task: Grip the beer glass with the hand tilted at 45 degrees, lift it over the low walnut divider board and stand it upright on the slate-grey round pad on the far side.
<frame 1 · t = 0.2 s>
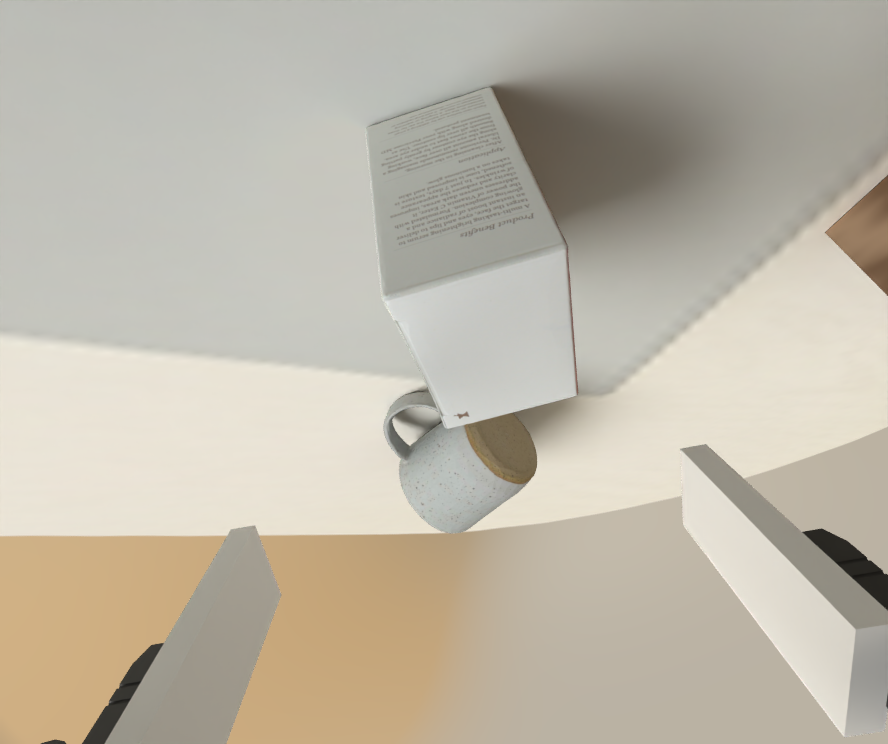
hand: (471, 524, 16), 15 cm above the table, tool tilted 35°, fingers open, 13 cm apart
small box: (448, 184, 24), on the table
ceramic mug: (445, 417, 40), on the table
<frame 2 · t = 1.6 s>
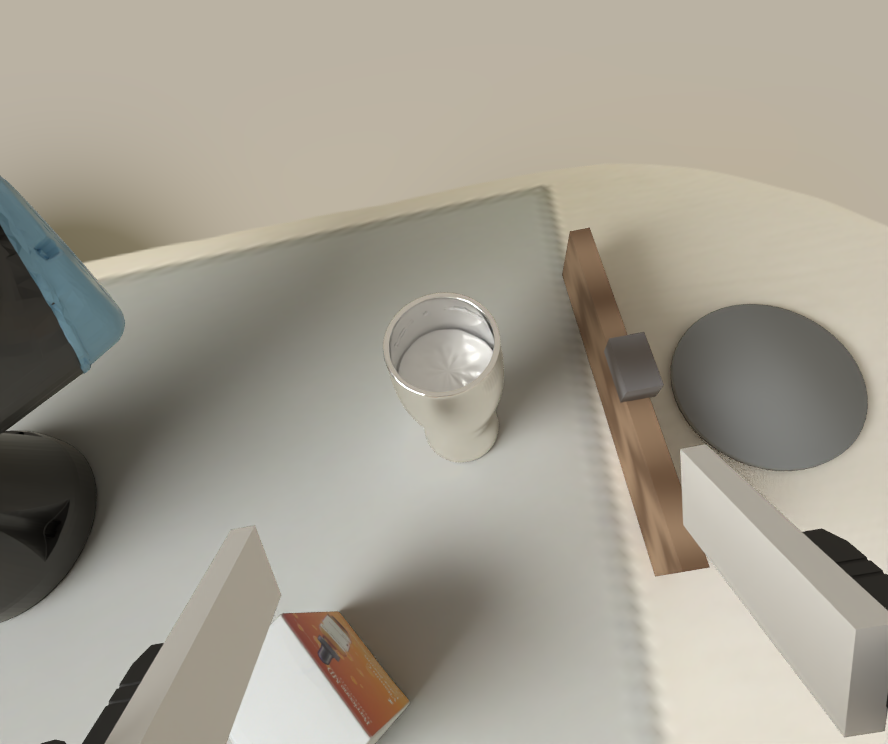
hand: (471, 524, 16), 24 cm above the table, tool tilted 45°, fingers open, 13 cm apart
small box: (344, 684, 35), on the table
round pad: (763, 383, 40), on the table
beer glass: (461, 427, 42), on the table
divider board: (612, 403, 41), on the table
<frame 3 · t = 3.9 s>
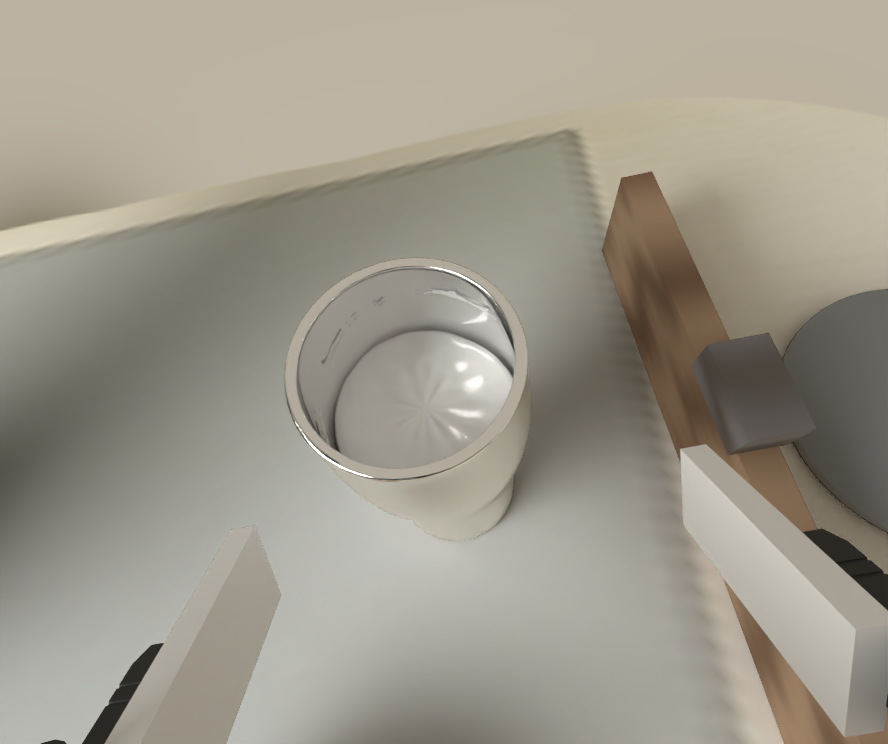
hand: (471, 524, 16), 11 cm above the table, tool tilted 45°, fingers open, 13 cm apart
beer glass: (456, 482, 27), on the table
divider board: (690, 444, 26), on the table
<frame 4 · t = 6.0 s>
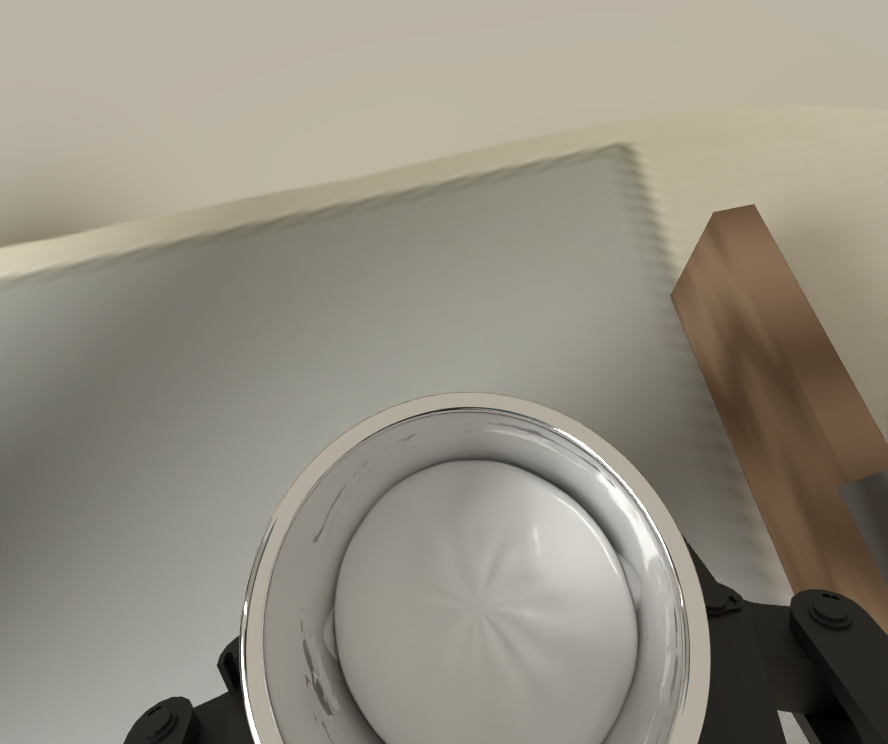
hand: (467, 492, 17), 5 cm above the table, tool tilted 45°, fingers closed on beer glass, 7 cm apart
beer glass: (492, 606, 21), on the table, touching gripper
divider board: (804, 564, 20), on the table
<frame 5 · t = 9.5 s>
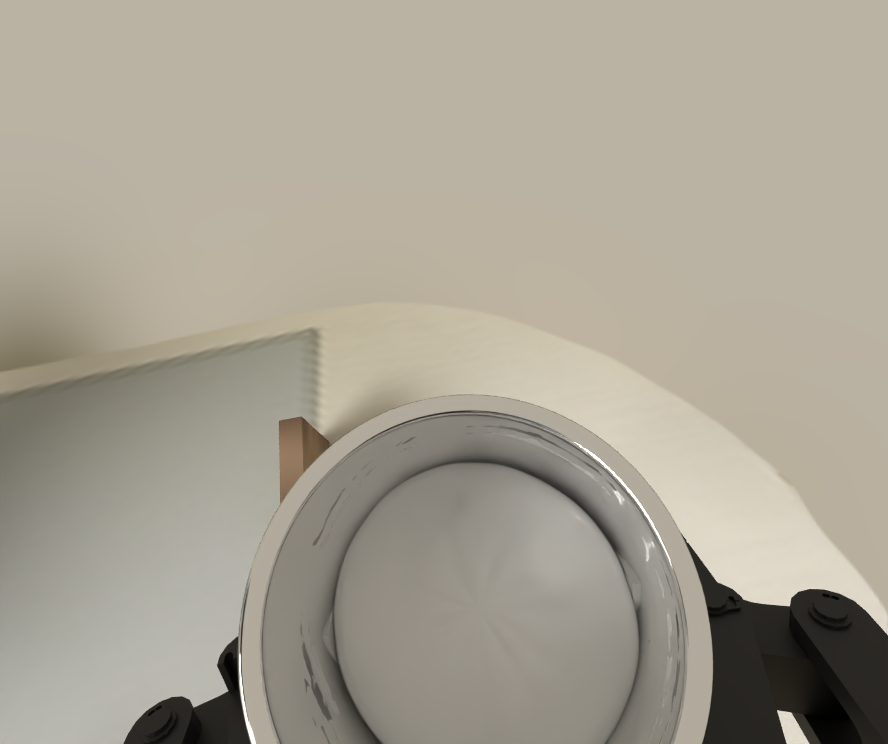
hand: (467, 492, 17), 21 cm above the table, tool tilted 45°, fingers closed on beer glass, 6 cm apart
beer glass: (493, 608, 21), point 15 cm above the table, touching gripper
divider board: (328, 622, 35), on the table
when the fingers open (7 cm above the table, at t = 13.0 s): beer glass drops 1 cm, resting on round pad.
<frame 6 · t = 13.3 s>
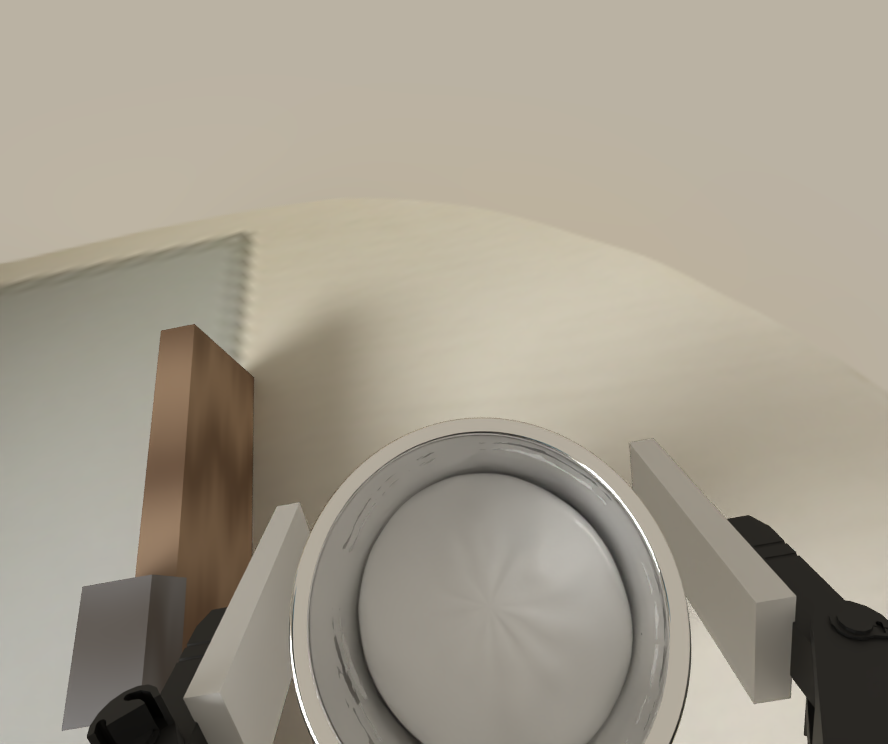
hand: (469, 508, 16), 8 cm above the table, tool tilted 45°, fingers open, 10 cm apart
beer glass: (498, 608, 22), resting on round pad
divider board: (233, 635, 23), on the table
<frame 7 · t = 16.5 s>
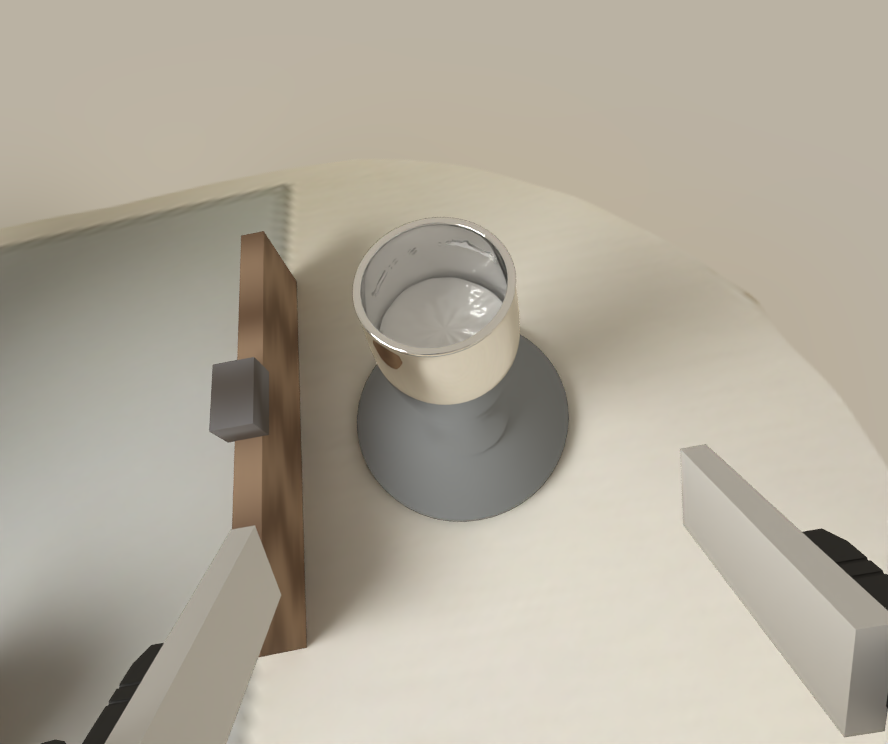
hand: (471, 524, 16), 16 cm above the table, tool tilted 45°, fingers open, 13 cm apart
round pad: (461, 414, 34), on the table
beer glass: (463, 413, 34), resting on round pad
divider board: (289, 437, 35), on the table
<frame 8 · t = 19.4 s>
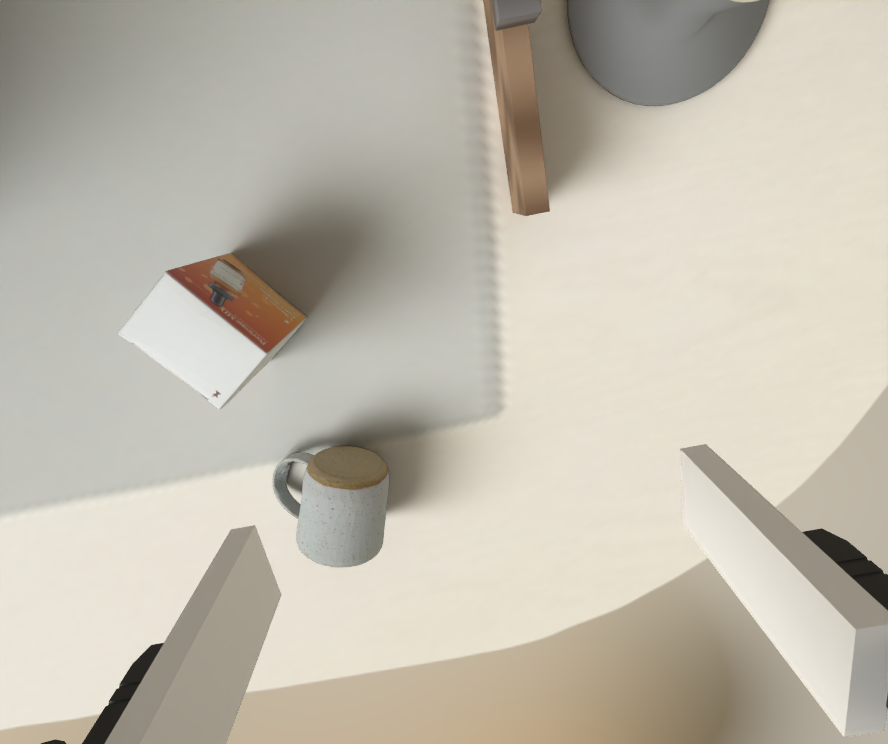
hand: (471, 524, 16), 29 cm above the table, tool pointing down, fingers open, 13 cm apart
small box: (250, 308, 42), on the table
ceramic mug: (336, 479, 48), on the table
divider board: (497, 20, 36), on the table
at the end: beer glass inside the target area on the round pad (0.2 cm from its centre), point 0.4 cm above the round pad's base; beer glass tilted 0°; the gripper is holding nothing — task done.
